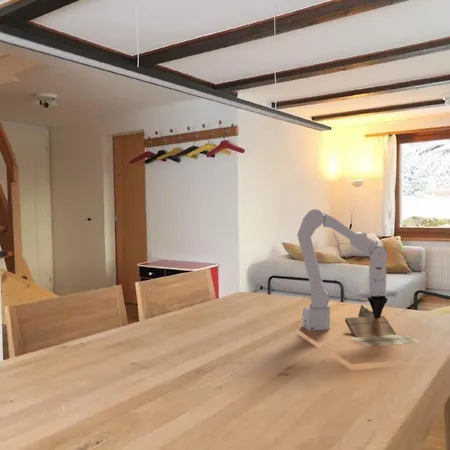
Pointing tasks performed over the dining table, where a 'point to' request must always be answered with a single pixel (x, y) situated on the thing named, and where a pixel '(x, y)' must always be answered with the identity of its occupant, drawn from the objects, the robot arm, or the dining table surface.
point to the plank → (369, 326)
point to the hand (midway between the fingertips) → (377, 317)
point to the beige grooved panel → (385, 340)
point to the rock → (365, 312)
